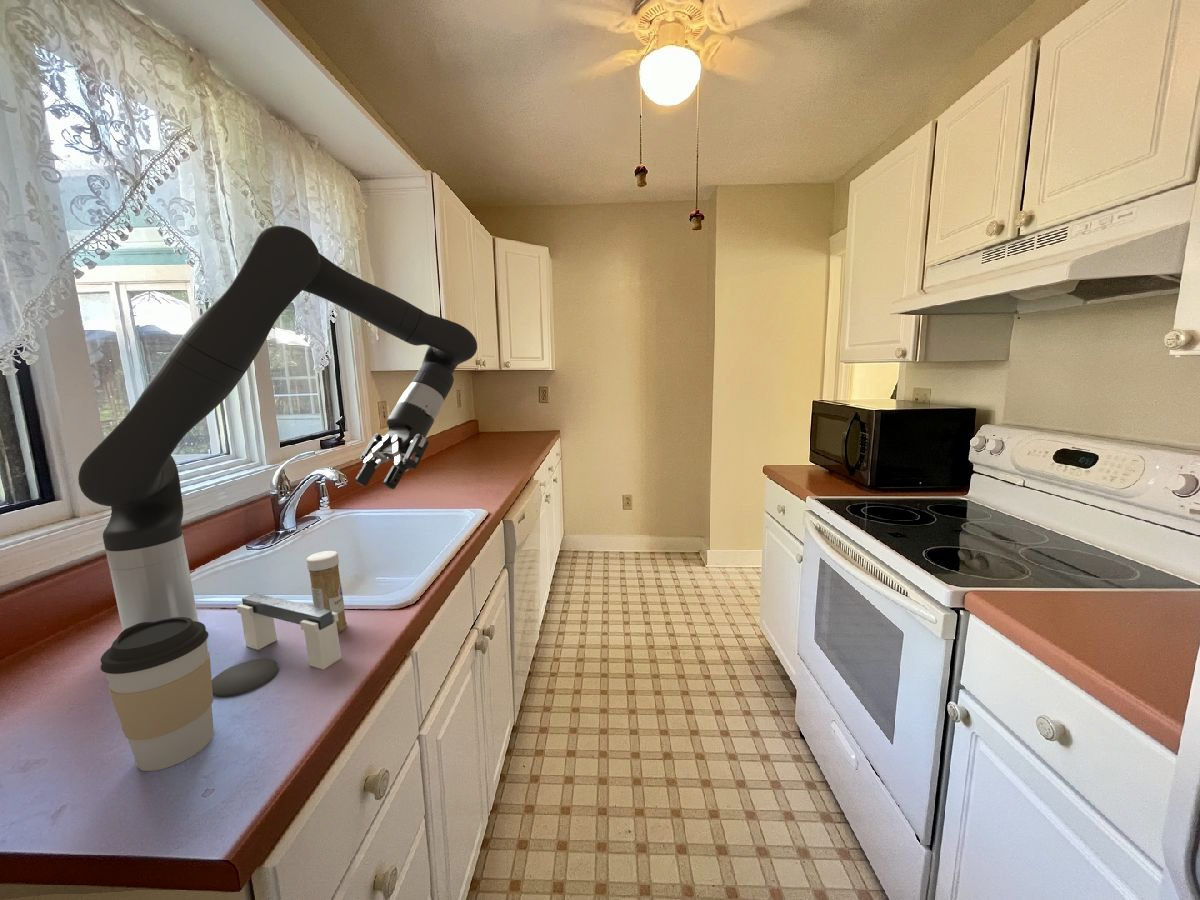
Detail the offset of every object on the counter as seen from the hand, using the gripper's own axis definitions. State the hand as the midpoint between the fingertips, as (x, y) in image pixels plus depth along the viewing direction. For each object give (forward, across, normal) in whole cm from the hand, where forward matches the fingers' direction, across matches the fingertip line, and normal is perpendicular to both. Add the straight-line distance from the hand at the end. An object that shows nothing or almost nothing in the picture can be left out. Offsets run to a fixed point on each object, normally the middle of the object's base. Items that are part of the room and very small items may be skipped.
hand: (373, 485), depth 86 cm
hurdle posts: (+28, 0, +2) cm, 29 cm away
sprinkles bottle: (+24, -2, +8) cm, 25 cm away
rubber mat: (+33, +1, -3) cm, 33 cm away
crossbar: (+24, 0, -2) cm, 24 cm away
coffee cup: (+40, +9, -10) cm, 42 cm away
